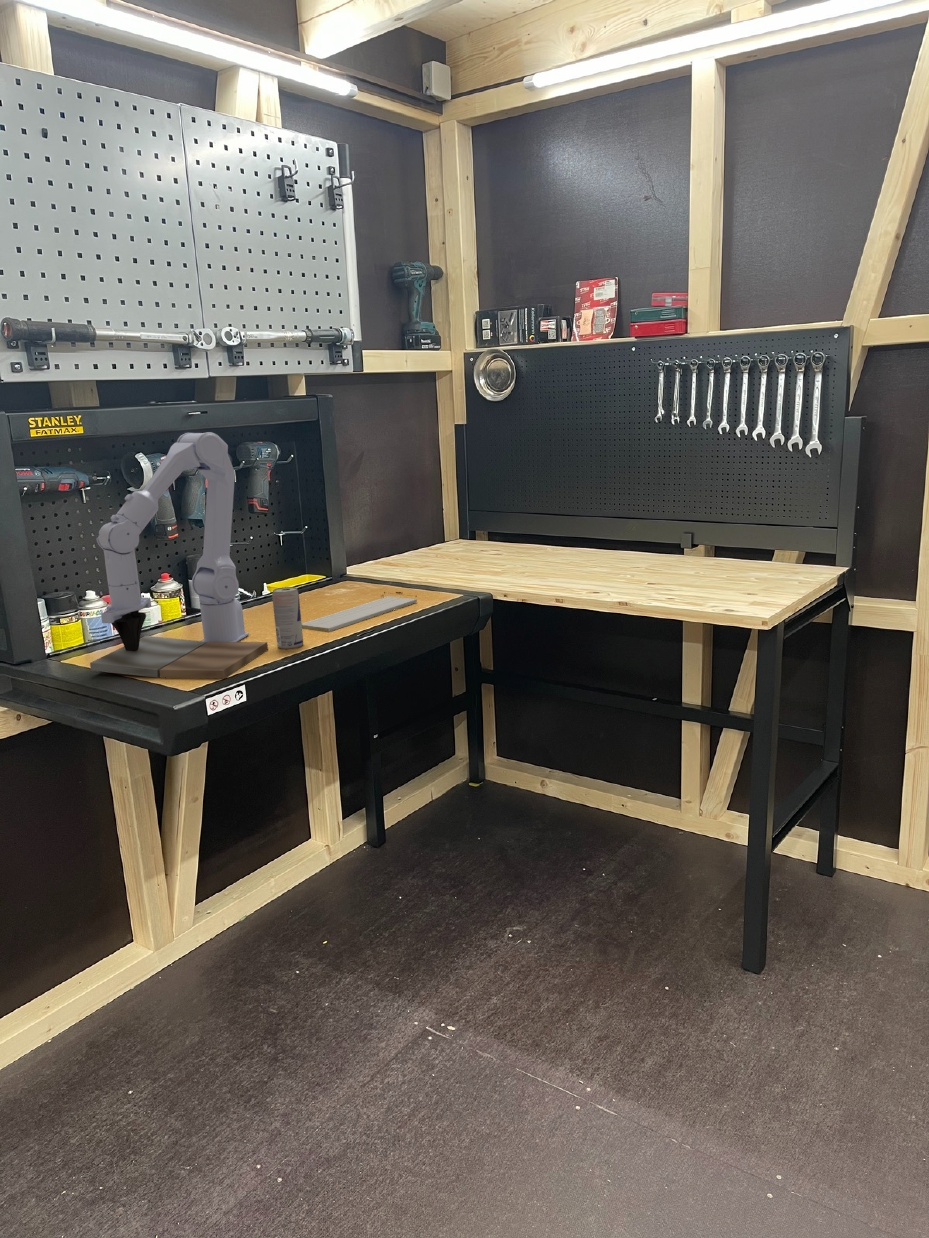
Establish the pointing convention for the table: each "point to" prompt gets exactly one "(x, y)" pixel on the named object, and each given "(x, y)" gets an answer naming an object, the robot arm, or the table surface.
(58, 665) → the table surface
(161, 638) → the plank
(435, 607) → the table surface
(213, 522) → the robot arm
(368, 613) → the baseboard molding
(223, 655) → the laid board
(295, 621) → the energy drink
